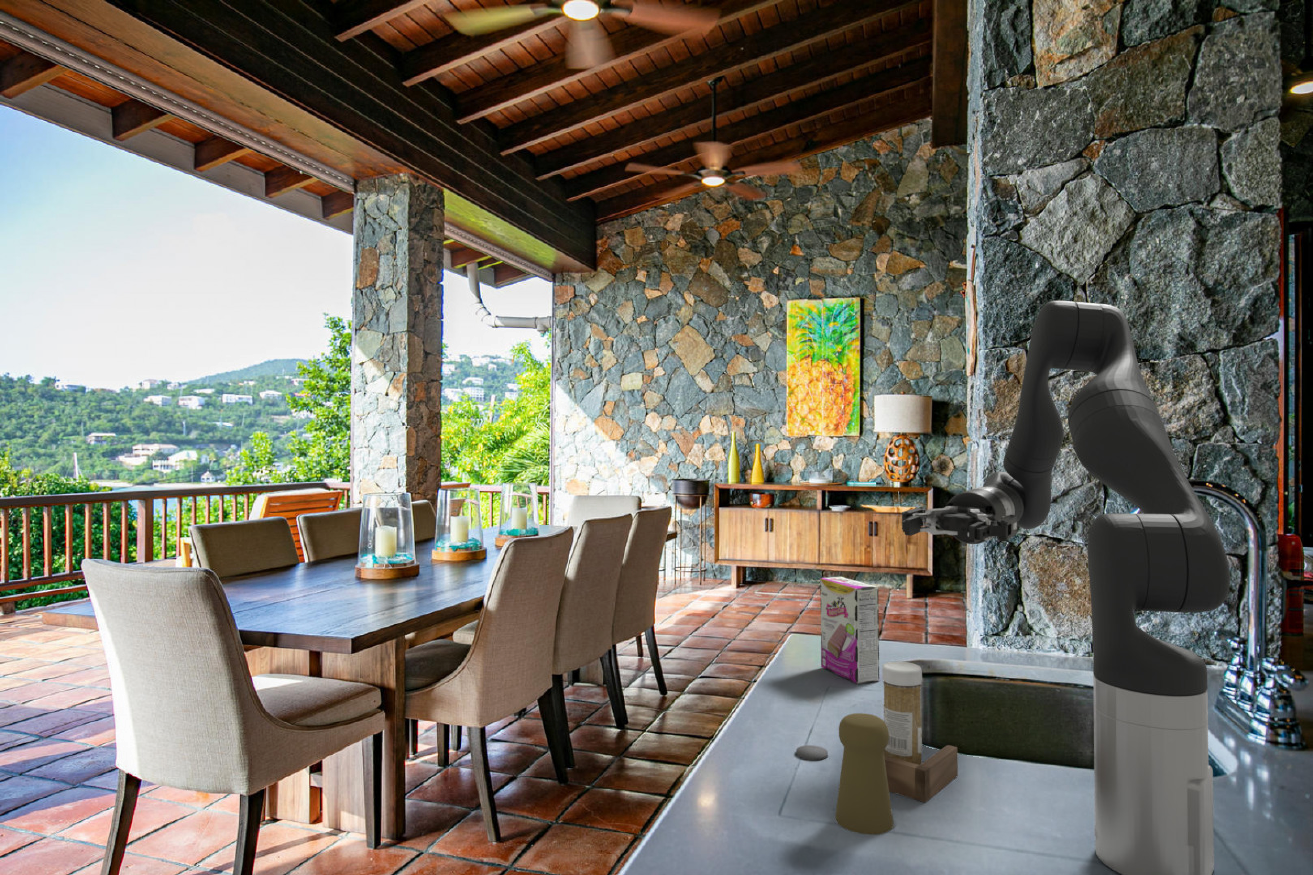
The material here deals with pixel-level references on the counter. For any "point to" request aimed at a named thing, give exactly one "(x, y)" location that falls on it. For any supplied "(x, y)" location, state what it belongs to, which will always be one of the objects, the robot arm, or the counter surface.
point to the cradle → (922, 774)
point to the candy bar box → (850, 629)
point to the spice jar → (903, 710)
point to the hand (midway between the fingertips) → (938, 531)
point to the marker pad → (812, 752)
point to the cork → (864, 776)
